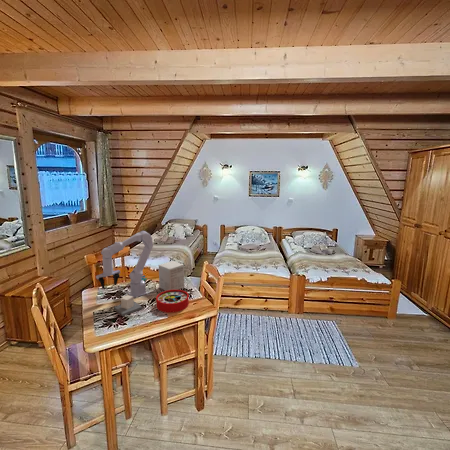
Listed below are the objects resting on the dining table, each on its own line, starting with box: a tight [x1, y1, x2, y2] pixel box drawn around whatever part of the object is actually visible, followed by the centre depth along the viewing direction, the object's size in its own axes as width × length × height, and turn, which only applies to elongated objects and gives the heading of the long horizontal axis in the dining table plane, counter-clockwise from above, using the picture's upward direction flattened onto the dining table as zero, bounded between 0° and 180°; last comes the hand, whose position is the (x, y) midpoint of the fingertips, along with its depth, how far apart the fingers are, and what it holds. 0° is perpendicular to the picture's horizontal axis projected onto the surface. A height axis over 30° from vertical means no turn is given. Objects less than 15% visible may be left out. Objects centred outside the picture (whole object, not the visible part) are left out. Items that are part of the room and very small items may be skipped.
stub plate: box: [113, 301, 143, 317], centre depth 157 cm, size 12×12×5 cm
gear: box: [142, 274, 148, 283], centre depth 196 cm, size 11×6×10 cm
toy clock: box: [155, 289, 190, 314], centre depth 163 cm, size 20×6×20 cm
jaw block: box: [120, 294, 135, 309], centre depth 157 cm, size 5×5×6 cm
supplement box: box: [158, 260, 185, 291], centre depth 187 cm, size 13×13×18 cm
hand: (109, 286), depth 167 cm, fingers open, 7 cm apart
